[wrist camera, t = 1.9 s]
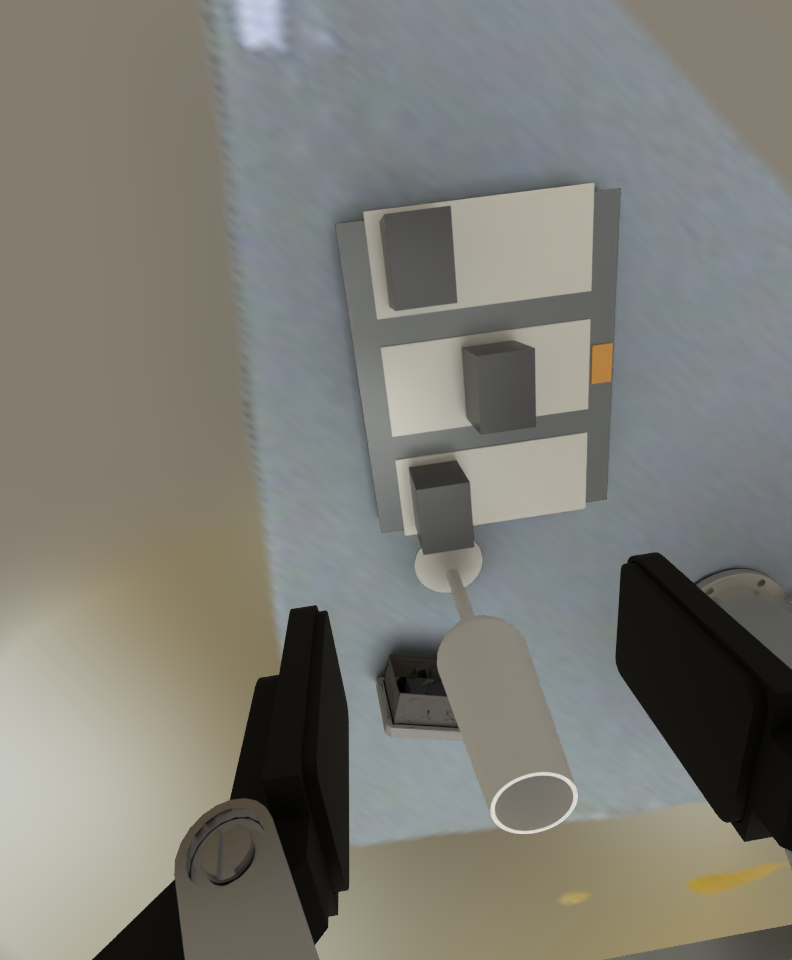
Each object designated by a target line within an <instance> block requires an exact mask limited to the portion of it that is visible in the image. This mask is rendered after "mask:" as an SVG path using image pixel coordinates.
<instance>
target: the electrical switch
mask: <svg viewBox="0 0 792 960" xmlns="http://www.w3.org/2000/svg"><path fill="white" fill-rule="evenodd" d="M403 660H404V661H403ZM401 661H402V662H401ZM411 662H412V663H413V664H412V663H411ZM414 667H415V672H414V674H413V671H414ZM394 669H395V670H394ZM430 669H431V677H430ZM420 670H425V671H426V679H425V678H420V677H418V673H419V671H420ZM412 674H413V676H412ZM431 678H432V679H433V680H432V679H431ZM376 688H377V693H378V698H379V704H380V709H381V714H382V719H383V724H384V730H385V733H386V734H388V735H389V736H391V737H404V738H422V739H439V740H456V741H463V738H462V735H461V732H460V730H459V727H458V724H457V721H456V719H455V716H454V713H453V711H452V708H451V705H450V702H449V700H448V697H447V694H446V691H445V689H444V686H443V683H442V680H441V678H440V675H439V672H438V668H437V659H426V658H413V657H401V656H389V659H388V666H387V668H386V673H385V677H380V678H378V679H377V685H376Z"/></svg>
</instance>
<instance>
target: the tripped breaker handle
mask: <svg viewBox="0 0 792 960" xmlns="http://www.w3.org/2000/svg"><path fill="white" fill-rule="evenodd" d="M462 358H463V372H464V387H465V402H466V416H467V419H468V421H469V422H470V423H471V424H472V425H473V426H474V428H475V429H476V430H477V431H478V432H479V434H480V435H484V434H491V433H498V432H505V431H512V430H519V429H526V428H532V427H536V383H535V348H533V347H531V346H528V345H525V344H523V343H520V342H517V341H515V340H513V341H506V342H498V343H491V344H484V345H477V346H469V347H462Z"/></svg>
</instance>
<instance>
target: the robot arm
mask: <svg viewBox="0 0 792 960" xmlns="http://www.w3.org/2000/svg"><path fill="white" fill-rule="evenodd" d="M616 665H617V668H618V671H619V673H620V675H621V676H622V678H623V679H624V681H625V682H626V684H627V685H628V686H629V688H630V689H631V691H632V692H633V694H634V695H635V697H636V698H637V700H638V701H639V702H640V704H641V705H642V707H643V708H644V710H645V711H646V713H647V714H648V716H649V717H650V718H651V720H652V721H653V723H654V724H655V726H656V727H657V729H658V730H659V732H660V733H661V734H662V736H663V737H664V739H665V740H666V742H667V743H668V745H669V746H670V747H671V749H672V750H673V752H674V753H675V755H676V756H677V758H678V759H679V761H680V762H681V763H682V765H683V766H684V768H685V769H686V771H687V772H688V774H689V775H690V777H691V778H692V779H693V781H694V782H695V784H696V785H697V787H698V788H699V790H700V791H701V793H702V794H703V795H704V797H705V798H706V800H707V801H708V803H709V804H710V806H711V807H712V808H713V810H714V811H715V813H716V814H717V815H718V817H719V818H720V819H721V820H722V821H724V822H726V823H728V822H731V823H732V825H733V826H734V828H735V829H736V831H737V832H738V833H739V835H740V836H741V838H742V839H743V841H744V842H746V841H751V840H757V839H763V838H768V837H773V838H774V839H775V840H776V841H777V843H778V844H779V845H780V846H781V847H783V848H785V851H786V854H787V857H788V860H789V863H790V866H791V869H792V606H791V605H790V604H789V603H787V602H786V599H785V595H784V593H783V591H782V589H781V587H780V586H779V585H778V584H777V583H776V582H775V581H773V580H772V579H771V578H769V577H768V576H766V575H765V574H762V573H760V572H758V571H754V570H749V569H734V570H728V571H723V572H720V573H717V574H714V575H712V576H710V577H708V578H706V579H704V580H702V581H701V582H699V583H698V584H696V585H695V584H694V583H693V582H692V581H691V580H690V579H689V578H687V577H686V576H685V575H684V574H683V573H682V572H681V571H679V570H678V569H677V568H676V567H675V566H674V565H673V564H671V563H670V562H669V561H668V560H667V559H666V558H665V557H664V556H662V555H661V554H659V553H656V552H655V553H648V554H642V555H635V556H631V557H629V559H628V562H627V564H623V565H622V567H621V576H620V593H619V609H618V626H617V642H616ZM174 876H175V880H174V881H173V882H172V883H171V884H170V885H169V886H168V887H167V888H165V889H164V890H163V891H162V892H161V893H160V894H159V895H158V896H157V897H156V898H155V899H154V900H153V901H152V902H151V903H150V904H149V905H148V906H147V907H146V908H145V909H144V910H143V911H142V912H141V913H140V914H139V915H138V916H137V917H136V918H135V919H134V920H133V921H131V923H129V924H128V925H127V927H126V928H124V929H123V930H122V931H121V932H120V933H119V934H118V935H117V936H116V937H115V938H114V939H113V940H112V941H111V942H110V943H109V944H108V945H107V946H106V947H105V948H104V949H103V950H102V951H101V952H100V953H99V954H98V955H97V956H96V957H95V958H93V959H92V960H319V957H318V954H317V951H316V948H315V944H316V943H317V942H318V940H319V939H320V938H321V936H322V935H323V934H324V932H325V931H326V930H327V928H328V917H329V916H335V915H338V892H340V891H346V890H348V889H349V718H348V707H347V701H346V696H345V691H344V687H343V682H342V677H341V672H340V668H339V663H338V658H337V654H336V649H335V644H334V639H333V635H332V630H331V625H330V620H329V616H328V612H327V611H320V612H319V611H318V607H317V606H316V605H315V606H308V607H302V608H295V609H291V610H290V614H289V620H288V626H287V631H286V637H285V643H284V649H283V655H282V661H281V667H280V673H279V675H275V676H269V677H262V678H259V679H258V681H257V683H256V686H255V691H254V695H253V699H252V704H251V708H250V712H249V717H248V721H247V726H246V730H245V735H244V739H243V744H242V748H241V753H240V757H239V762H238V766H237V771H236V775H235V780H234V784H233V789H232V793H231V798H230V800H229V801H227V802H224V803H222V804H219V805H217V806H215V807H214V808H212V809H211V810H210V811H208V812H206V813H205V814H203V815H202V816H201V817H200V818H199V819H198V820H197V822H195V824H194V825H193V826H192V827H191V828H190V829H189V831H188V832H187V834H186V836H185V837H184V839H183V840H182V842H181V844H180V847H179V850H178V853H177V856H176V859H175V874H174ZM605 960H792V925H787V926H782V927H777V928H771V929H765V930H760V931H754V932H749V933H744V934H738V935H733V936H728V937H722V938H717V939H712V940H706V941H701V942H695V943H691V944H685V945H679V946H674V947H669V948H664V949H658V950H653V951H647V952H642V953H637V954H631V955H626V956H621V957H616V958H610V959H605Z"/></svg>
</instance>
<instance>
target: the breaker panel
mask: <svg viewBox="0 0 792 960" xmlns="http://www.w3.org/2000/svg"><path fill="white" fill-rule="evenodd" d="M620 196H621V188H616V189H608V190H600V191H594V183H588V184H580V185H572V186H564V187H556V188H548V189H540V190H532V191H524V192H516V193H508V194H500V195H493V196H485V197H477V198H469V199H461V200H453V201H445V202H437V203H429V204H421V205H413V206H405V207H397V208H389V209H381V210H373V211H365V212H363V215H364V220H363V221H355V222H347V223H339V224H335V227H336V234H337V240H338V247H339V254H340V261H341V267H342V274H343V281H344V287H345V294H346V301H347V307H348V314H349V321H350V327H351V334H352V341H353V347H354V354H355V361H356V367H357V374H358V381H359V388H360V394H361V401H362V408H363V414H364V421H365V428H366V434H367V441H368V448H369V454H370V461H371V468H372V474H373V481H374V488H375V494H376V501H377V508H378V515H379V521H380V528H381V533H386V532H392V531H399V530H404V532H405V536H408V535H414V534H418V537H419V541H420V544H421V548H422V552H423V555H427V554H434V553H440V552H447V551H454V550H460V549H467V548H473V547H474V534H473V526H474V525H480V524H487V523H494V522H500V521H507V520H513V519H520V518H527V517H533V516H540V515H547V514H553V513H560V512H566V511H573V510H580V509H585V504H586V502H592V501H598V500H605V499H607V482H608V460H609V438H610V416H611V394H612V372H613V350H614V328H615V306H616V284H617V262H618V240H619V218H620ZM513 340H515V341H517V342H520V343H523V344H525V345H528V346H531V347H533V348H535V383H536V427H532V428H526V429H519V430H512V431H505V432H498V433H491V434H484V435H480V434H479V432H478V431H477V430H476V429H475V428H474V426H473V425H472V424H471V423H470V422H469V421H468V419H467V416H466V402H465V387H464V372H463V358H462V347H469V346H477V345H484V344H491V343H498V342H506V341H513Z"/></svg>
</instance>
